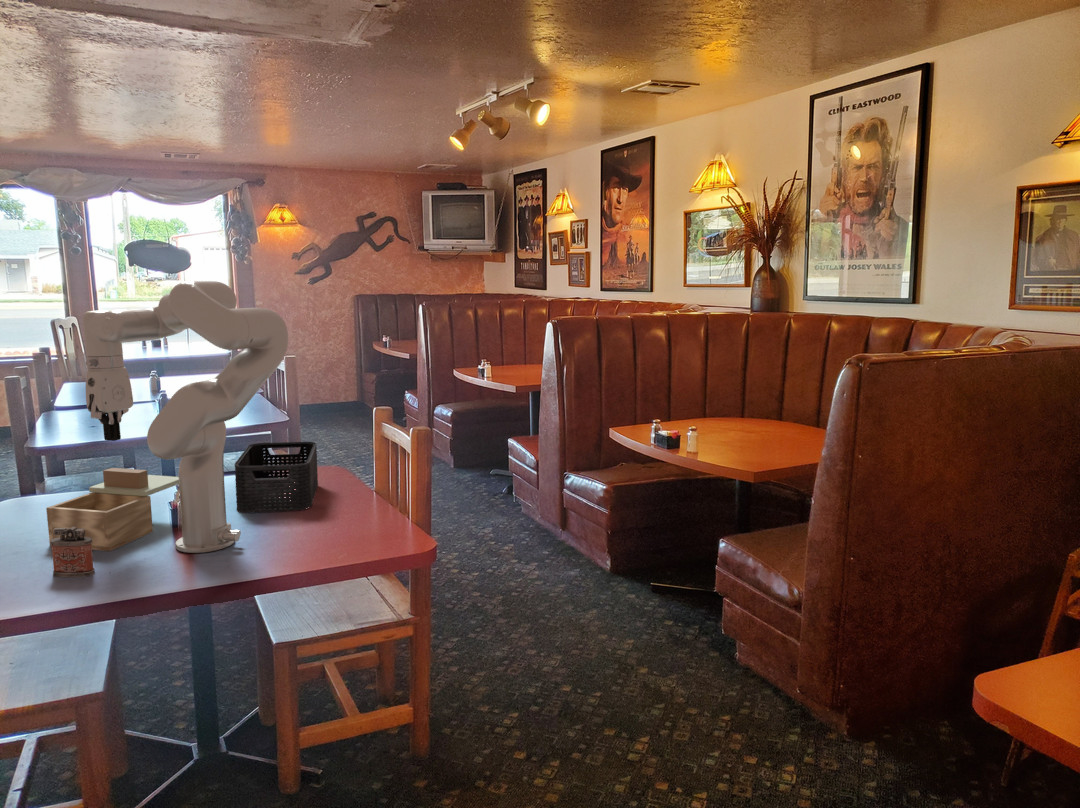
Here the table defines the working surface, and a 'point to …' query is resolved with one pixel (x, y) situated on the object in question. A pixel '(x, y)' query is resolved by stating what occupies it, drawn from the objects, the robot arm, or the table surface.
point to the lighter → (72, 553)
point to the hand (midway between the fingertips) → (112, 439)
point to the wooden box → (103, 518)
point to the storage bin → (276, 478)
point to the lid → (132, 482)
